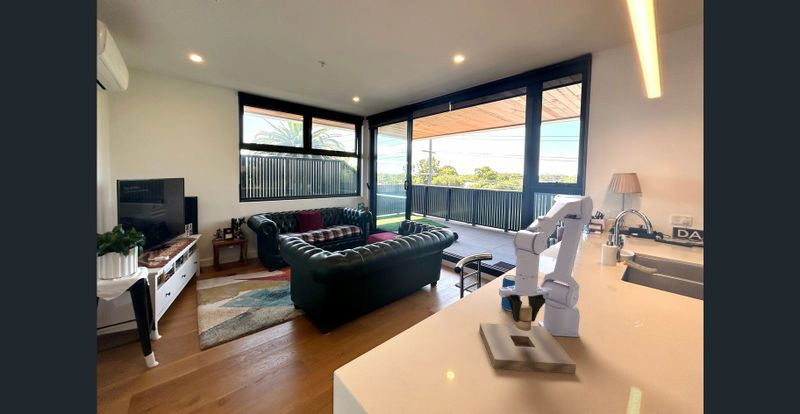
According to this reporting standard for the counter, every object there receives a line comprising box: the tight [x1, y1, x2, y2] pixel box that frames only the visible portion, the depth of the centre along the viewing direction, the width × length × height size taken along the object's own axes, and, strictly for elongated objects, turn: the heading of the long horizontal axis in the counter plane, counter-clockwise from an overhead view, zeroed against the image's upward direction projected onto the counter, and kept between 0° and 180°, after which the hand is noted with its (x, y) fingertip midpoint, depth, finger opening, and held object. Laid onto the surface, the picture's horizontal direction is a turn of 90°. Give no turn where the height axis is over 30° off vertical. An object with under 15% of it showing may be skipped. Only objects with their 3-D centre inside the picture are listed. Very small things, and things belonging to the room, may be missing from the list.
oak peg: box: [514, 303, 532, 331], centre depth 79 cm, size 4×4×6 cm
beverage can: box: [501, 274, 521, 312], centre depth 105 cm, size 6×6×12 cm
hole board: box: [478, 322, 577, 375], centre depth 80 cm, size 20×18×2 cm
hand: (523, 320), depth 79 cm, fingers closed on oak peg, 4 cm apart
